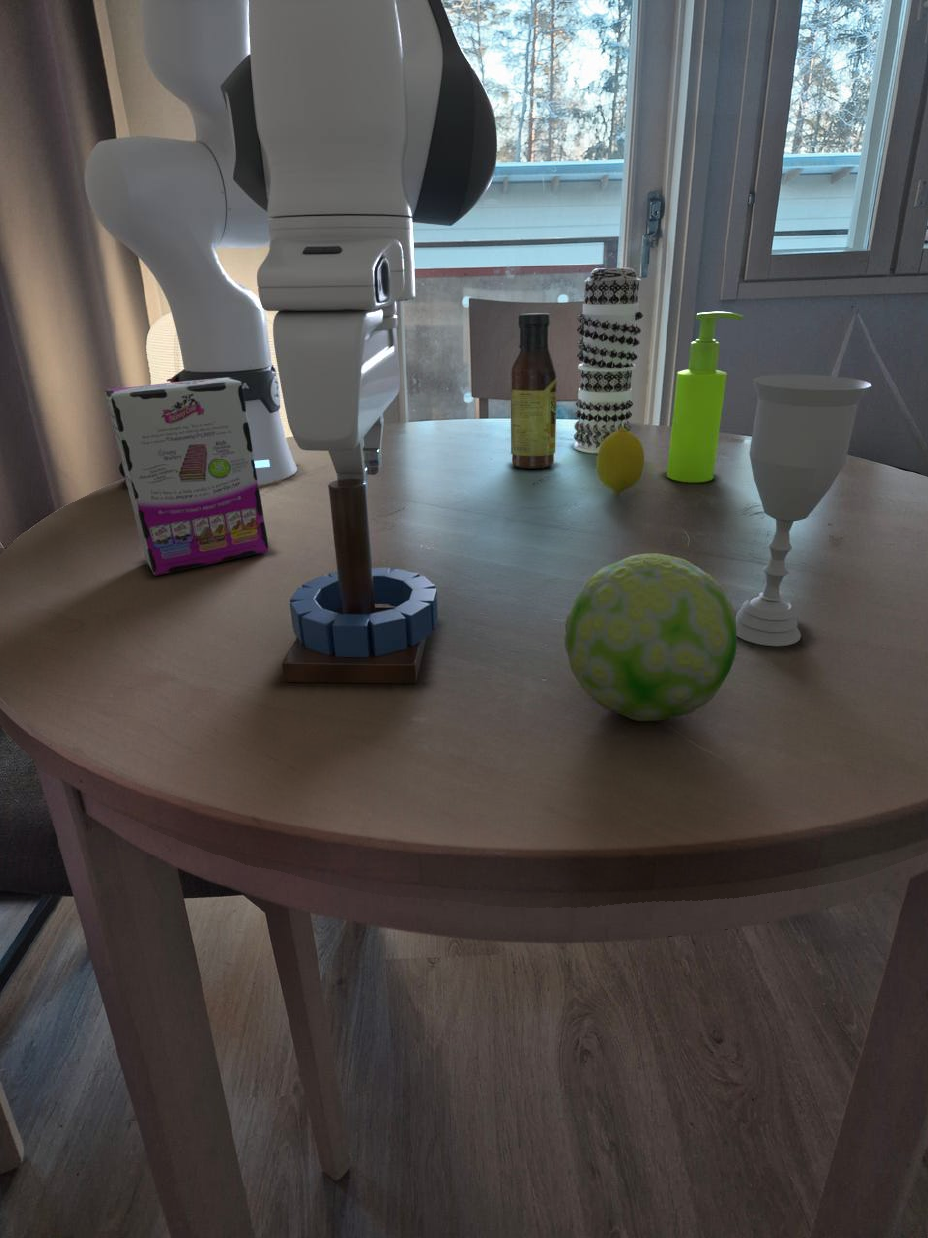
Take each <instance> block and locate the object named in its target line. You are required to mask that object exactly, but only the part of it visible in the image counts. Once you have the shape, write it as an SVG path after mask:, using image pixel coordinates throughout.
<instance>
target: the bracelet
mask: <svg viewBox="0 0 928 1238" xmlns="http://www.w3.org/2000/svg"><path fill="white" fill-rule="evenodd" d="M372 572H373V584H374V597H375V605H388V606H390V607H391V606H392V607H393V608H394V609H391V610H386V611H382V612H377V613H372V614H339V613H335V611H337V610H339V609H341V602H340V593H339V583H338V573H337V571H333V572H329V573H328V574H327V575H324V574H322V575H320V576H318V577H316V578H313V579H311V580H309V581H307V582H304V583H302V584H301V586H300V587H297V588H296V590H295V592H294V593H293V594H292V596H291V597H290V599H289V611H290V616H291V624H292V631H293V633H294V635H295V636H296V638H298V640H299V641H300V643H301V645H304V644H305V647H306V648H309V649H312V650H315V651H317V652H320V653H323V654H326V655H331V654H333V653H334V652H335V656H336V657H369V656H370V653H371V651H372V652H373V653H374V654H375V656H380V655H384V654H388V653H392V652H396V651H400V650H404V649H407V645H410V646H414V645H416V644H417V643H419V642H420V641H422V640H423V639H425V638H426V637H427V638H428V637H430V636H431V635H432V634H433V632H435V630H436V627H437V621H438V616H439V615H438V614H439V613H438V590H437V588H436V585H435V584H433V582H431V581H430V580H429V579H428V578H427V577H426V576H424V575H420V573H417V572H413V571H409V570H405V569H400V568H394V569H391V567H372ZM427 638H426V639H427Z"/></svg>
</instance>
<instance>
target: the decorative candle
mask: <svg viewBox="0 0 928 1238" xmlns="http://www.w3.org/2000/svg"><path fill="white" fill-rule="evenodd" d="M640 281H641V278H639V277H638V275H637V273H636V271H635V269H634V268H632V267H597V268H594V269H593V270H592V271H591V272H590V273H589V276H588V277H587V279H585V280H584V287H585V288H584V295H583V297H584V301H583V303H582V312H580V313H579V314H578V316H577V321H578V322H579V323H580V325H579V326H578V327H577V328H576V331H577V332H578V334H579V335H580V336H581V339H579V340H578V342H577V344H576V346H577V347H578V349H579V352H578V353H577V354H576V357H577V359H578V361H580V362H581V363H579V364H578V366H577V370H580V379H579V384H580V385H579V388H578V392H577V393H578V395H577V396H578V397H577V398H578V399H577V401H575V406H576V407H577V408H579V409H578V410H577V411H576V412H575V417H576V418H578V420H577V421H576V422H575V423H574V430H575V431H576V432H575V433H574V435H573V439H574V440H575V441H576V442H575V443H574V445H573V448H574V449H575V450H576V451H579V452H582V453H589V454H598V452H599V449H600V446H601V444H602V442H603V441H604V439H605V438H606V437H607V436H609V435H610V434H611V433H614V432H616V431H618V430H619V429H620V428H626V430H627V431H628V432H630V431H631V429H632V424H631V423H630V422H629V419H630V418H631V417H633V413H632V412H631V411H630V410H629V409H631V408H632V407H633V406H634V402H633V401H632V400H631V399H632V390H633V388H631V387H632V375H633V370H635V369H636V363H635V364H634V363H633V362H634V361H636V360H637V359H638V357H639V356H638V354H636V353H635V352H634V351H633V350H634V348H635V347H636V346H638V345H639V344H640V342H641V341H640V340H639V339H638V338H637V337H636V336H637V335H639V334H640V333H641V331H642V329H641V327H639V326H638V324H636V322H637V321H640V319H642V318H643V317H644V314H643V313H642V312H641V311H639V302H638V301H639V299H638V298H639V288H640V287H639V285H640ZM635 324H636V325H635Z"/></svg>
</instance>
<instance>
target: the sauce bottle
mask: <svg viewBox="0 0 928 1238" xmlns="http://www.w3.org/2000/svg"><path fill="white" fill-rule="evenodd" d="M550 323H551V321H550V313H549V312H547V313H546V312H534V313H533V312H532V313H531V312H530V313H521V314H519V315H518V328H519V345H518V347H519V353H518V355H517V357H516V359H515V360H514V362H513V364H512V367H511V373H510V375H511V388H510V455H512V456H511V462H512V465H513V466H514V467H516V468H519V469H525V470H526V469H528V470H533V469H545V468H548V467H551V466H552V465H553V464H554V461H555V453H556V434H557V433H556V430H557V427H556V426H557V385H558V384H557V381H558V377H557V372H556V369H555V366H554V362H553V359H552V355H551V352H550V349H549V326H550Z"/></svg>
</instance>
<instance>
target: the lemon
mask: <svg viewBox="0 0 928 1238" xmlns="http://www.w3.org/2000/svg"><path fill="white" fill-rule="evenodd" d="M644 465H645V453H644V448H643V444H642V442H641V440H640V438H639V437H637V436H636V435H635V434H634V433H632V432H630V431H629V432H628V431H627V430H626V428H620V429H619V430H618V431H616V432H614V433H611V434H610V435H609V436H607V437H606V438H605V439H604V441H603V442H602V444H601V446H600V449H599V452H598V453H597V457H596V471H597V475H598V478H599V481H601V483H602V484H603V485H604V486H605V487H607V488H608V489H611V491H612V492H613V493H614V494H615V495H620V494H622V493H623V492H624V491H625V490H627V489H630V488H631V487H633V486H634V485H635V484H637V482H638V481H639V479H640V478H641V476H642V473H643V469H644Z"/></svg>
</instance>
